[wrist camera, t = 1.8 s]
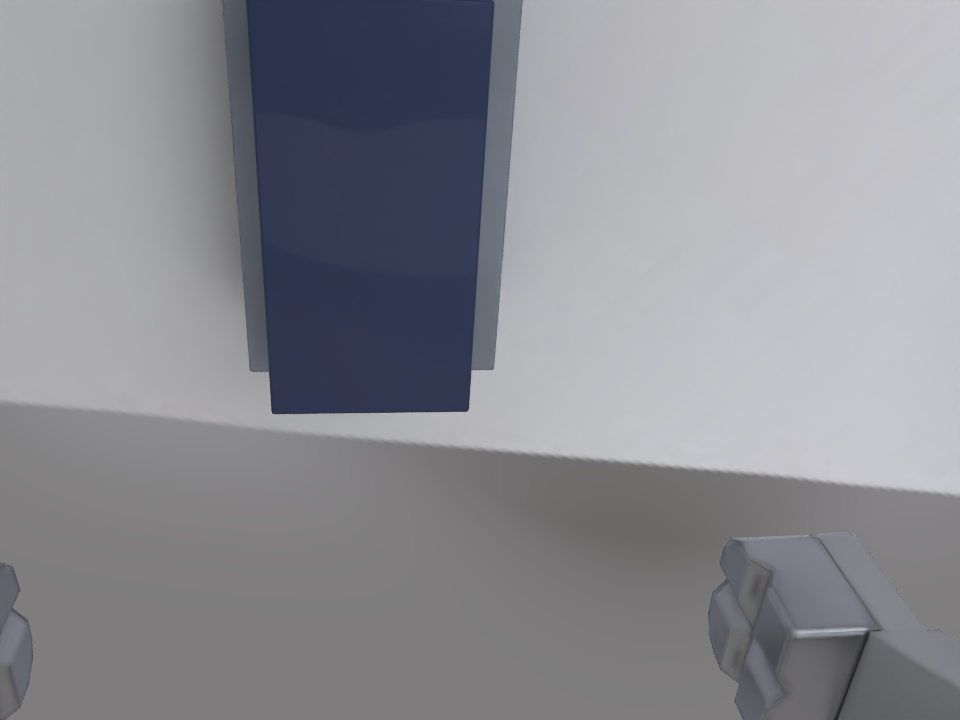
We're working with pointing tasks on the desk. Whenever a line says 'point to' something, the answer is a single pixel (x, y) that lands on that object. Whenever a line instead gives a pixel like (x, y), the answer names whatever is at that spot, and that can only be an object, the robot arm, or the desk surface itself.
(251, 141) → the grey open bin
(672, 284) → the desk surface
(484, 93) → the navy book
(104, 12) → the desk surface
